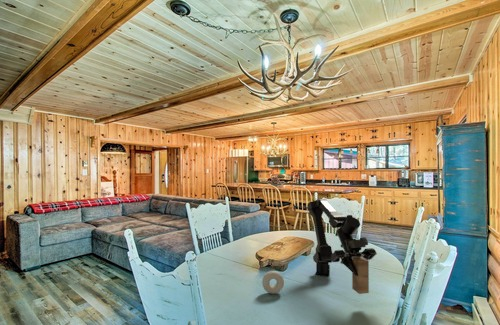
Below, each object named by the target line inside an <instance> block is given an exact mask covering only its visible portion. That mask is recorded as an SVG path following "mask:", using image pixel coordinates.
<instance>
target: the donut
mask: <svg viewBox="0 0 500 325" xmlns="http://www.w3.org/2000/svg"><path fill="white" fill-rule="evenodd" d="M272 280H275V281H276V283H275V284H274V285H271V282H270V281H272ZM261 283H262V287H263V290H264V291H265V292H267V293H269V294H271V295H274V294H278V293H280V292H281V291H282V290H283V288H284V285H285V280H284V277H283V275H282V274H281V272H279V271H276V270H269V271H268V272H266V273H265V274H264V275H263V277H262V282H261Z"/></svg>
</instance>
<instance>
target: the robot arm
mask: <svg viewBox="0 0 500 325" xmlns="http://www.w3.org/2000/svg"><path fill="white" fill-rule="evenodd" d="M307 210H308V213H309V215H310V216H311V217H312V219H313V226H314V230H315V231H314V232H315V236H316V237H315V238H316V242H317V245H316V247H315V253H314V254H313V256H312V259H313V262H315V265H316V270H315V275H317V276H324V277H329V276H330V272H331V271H330V270H331V269H330V268H331V267H330V264H331V263H340V264H342V265H344V266H345V267H346V268H347V269H348V270H350V272H351V273H352V272H353V273H354V274H355V275H356V276H358V273H357V271H356V268H355V266H354V264H353V261H352V257H363V258H365V259H367V260H369V261H370V260H372V259H373V258H374V257H376V255H377V251H376V250H375V248H372V247H370V248H366V247H367V246H368V245H369V241H368V239H367V237H365V236H364V237H360V238H359V239H357V238H354V237H353V235H354V234H355V233H356V232H357V230H358V229H359V228H360V226H361V223H360V220H359V219H357V218H356V217H354V216H353V215H352V214H347V215H344V214H343V213H341V212H339V211H337V210H336V209H334V207H333V206H332V205H331V204H330V203H329V202H328V200H327V199H326V198H317V199H315V200H313V201H309V202H308V203H307ZM323 214H325V215H326V217H327V218H328V223H329V225H330V227H331V228H333V229H336V232H335V237H338V239H339V242H340V247H341V248H342V249H338V250H334V251H333V249H332V246H331V245H329V244H328V242H327V238H326V233H325V226H324V222H323V217H322V216H323ZM362 248H365V249H363V250H362ZM361 250H362V251H361ZM340 260H341V261H340Z"/></svg>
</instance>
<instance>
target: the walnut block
mask: <svg viewBox="0 0 500 325" xmlns="http://www.w3.org/2000/svg"><path fill="white" fill-rule="evenodd" d="M352 261H353V264H354V266H355V268H356V271H357V273H358V276H356V275H355V274H354V273H353V272H352V271H351V273H352V274H351V275H352V276H351V278H352V279H351V280H352V284H351V286H352V290H354V291H355V293H357V294H358V295H362V294H363V295H364V294H369V291H370V290H369V289H370V288H369V287H370V285H369V284H370V282H369V280H370V278H369V275H370V273H369V267H370V266H369V261H370V260H367V259H365V258H363V257H352Z"/></svg>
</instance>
